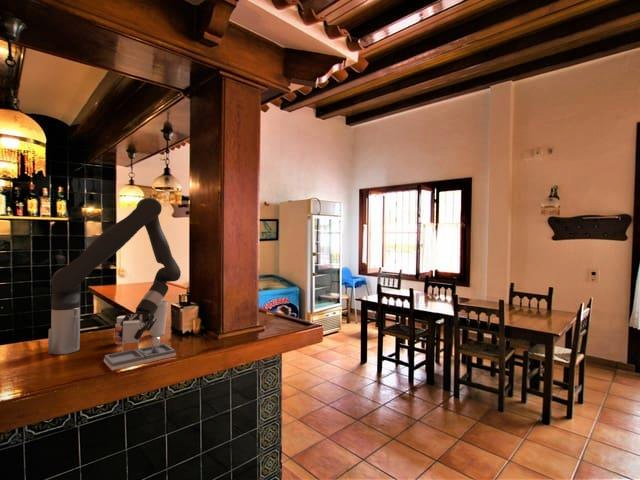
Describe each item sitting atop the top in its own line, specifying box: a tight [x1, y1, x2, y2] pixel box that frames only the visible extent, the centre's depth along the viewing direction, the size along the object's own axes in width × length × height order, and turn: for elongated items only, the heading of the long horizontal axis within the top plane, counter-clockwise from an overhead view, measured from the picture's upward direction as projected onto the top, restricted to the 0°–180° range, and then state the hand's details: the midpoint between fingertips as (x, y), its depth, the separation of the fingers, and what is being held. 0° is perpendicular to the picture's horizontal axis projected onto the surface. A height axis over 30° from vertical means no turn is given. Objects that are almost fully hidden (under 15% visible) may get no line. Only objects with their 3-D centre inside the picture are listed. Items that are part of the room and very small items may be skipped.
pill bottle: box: [114, 315, 126, 346], centre depth 150 cm, size 6×6×11 cm
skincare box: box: [121, 320, 140, 352], centre depth 140 cm, size 6×4×12 cm
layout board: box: [103, 336, 176, 371], centre depth 131 cm, size 22×11×7 cm, turn 135°
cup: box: [149, 300, 169, 337], centre depth 162 cm, size 8×8×16 cm
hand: (128, 337), depth 138 cm, fingers closed on skincare box, 7 cm apart
